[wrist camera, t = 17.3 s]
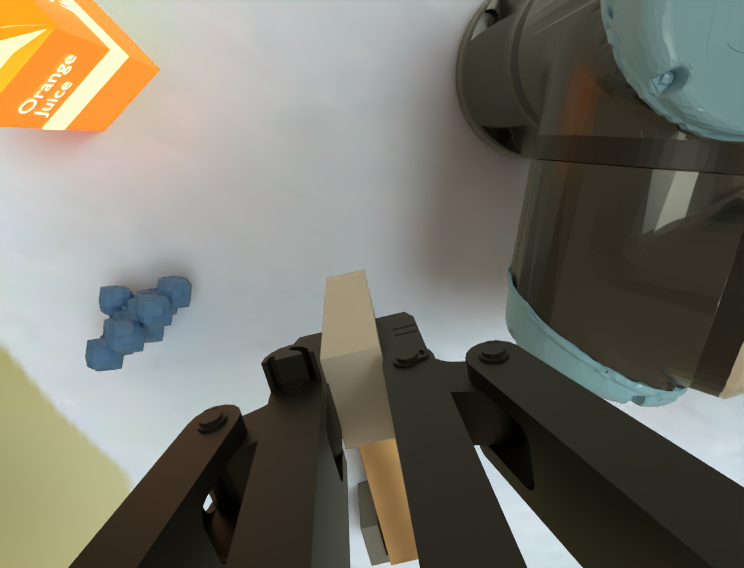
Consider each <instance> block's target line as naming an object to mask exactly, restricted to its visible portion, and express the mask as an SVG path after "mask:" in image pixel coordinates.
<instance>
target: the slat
mask: <svg viewBox="0 0 744 568" xmlns="http://www.w3.org/2000/svg"><path fill="white" fill-rule="evenodd" d="M359 450H360V454H361V457H362V461H363V464H364V468H365V472H366V475H367V479H368V483H369V486H370V490H371V493H372V497H373V501H374V504H375V508H376V511H377V515H378V519H379V522H380V526H381V530H382V533H383V537H384V540H385V544H386V548H387V551H388V555H389V558H390V562H391V565H394V564H399V563H403V562H407V561H412V560H416V559H418V554H417V549H416V543H415V538H414V533H413V528H412V522H411V517H410V512H409V506H408V501H407V496H406V490H405V485H404V480H403V475H402V469H401V464H400V459H399V453H398V448H397V443H396V438H392V439H388V440H384V441H379V442H375V443H371V444H366V445H362V446H359Z"/></svg>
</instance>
